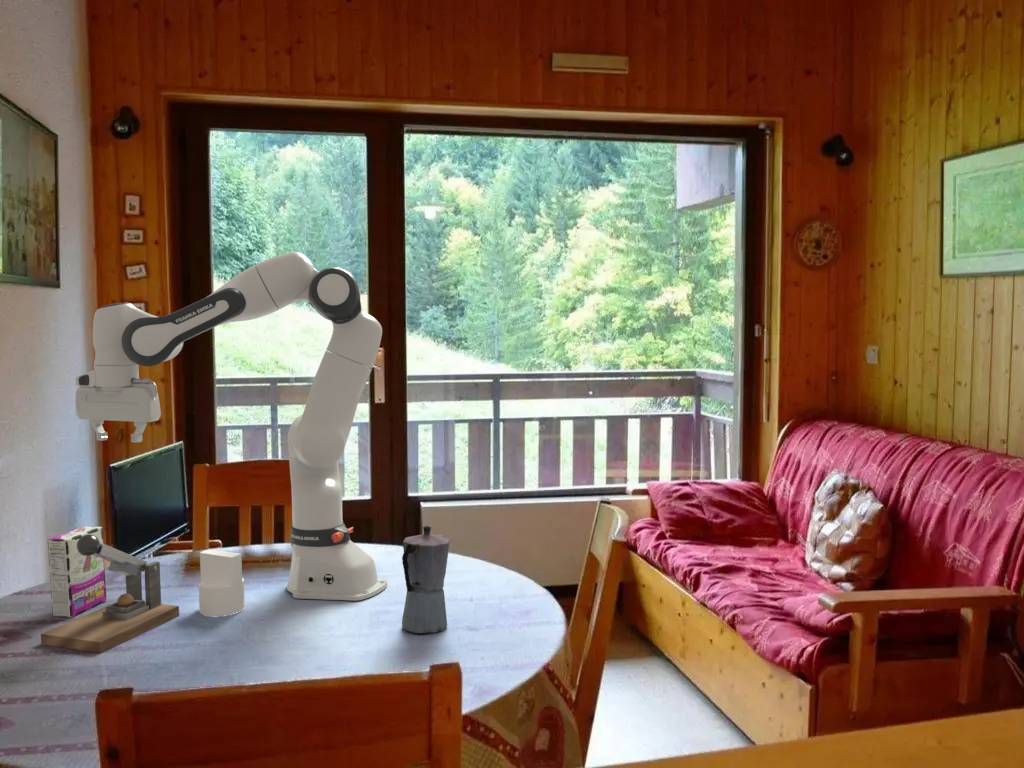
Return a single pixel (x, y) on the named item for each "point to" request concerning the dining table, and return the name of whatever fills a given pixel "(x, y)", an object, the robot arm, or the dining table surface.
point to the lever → (110, 556)
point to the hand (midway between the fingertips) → (119, 441)
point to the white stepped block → (221, 583)
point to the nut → (125, 600)
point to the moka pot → (425, 582)
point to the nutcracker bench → (116, 618)
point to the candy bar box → (75, 574)
